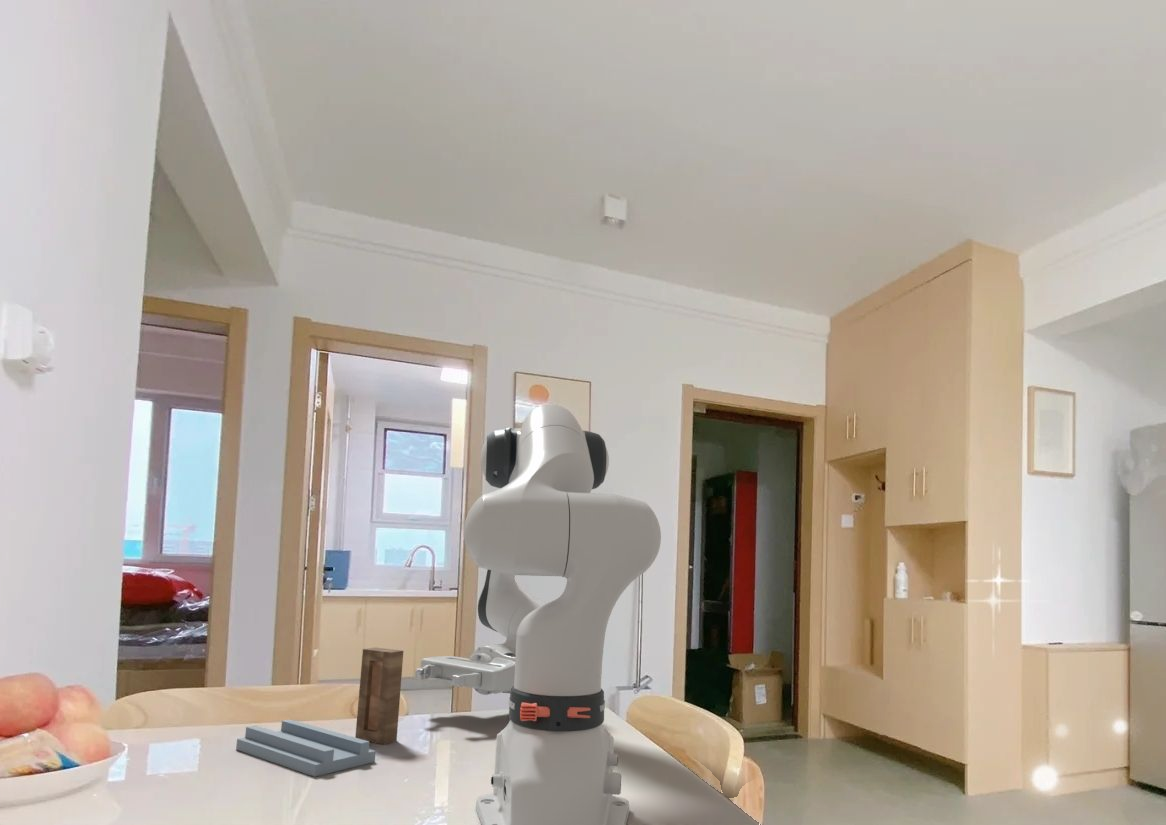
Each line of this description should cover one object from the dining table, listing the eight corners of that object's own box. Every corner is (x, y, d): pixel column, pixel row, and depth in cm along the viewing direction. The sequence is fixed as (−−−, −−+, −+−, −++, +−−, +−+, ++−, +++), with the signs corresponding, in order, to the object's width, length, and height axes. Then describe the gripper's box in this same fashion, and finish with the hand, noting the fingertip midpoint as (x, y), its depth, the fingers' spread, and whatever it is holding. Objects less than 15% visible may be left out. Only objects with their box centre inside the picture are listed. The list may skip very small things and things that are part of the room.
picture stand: (374, 761, 109) (376, 740, 110) (314, 776, 101) (316, 753, 102) (295, 737, 121) (297, 718, 121) (236, 749, 113) (238, 728, 114)
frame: (396, 740, 121) (403, 650, 124) (383, 744, 119) (391, 652, 121) (368, 735, 124) (375, 647, 127) (355, 739, 121) (362, 649, 124)
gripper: (453, 646, 150) (398, 652, 139) (531, 658, 138) (477, 665, 127) (451, 679, 149) (395, 688, 138) (529, 694, 137) (475, 705, 126)
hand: (435, 677), depth 133 cm, fingers open, 8 cm apart
